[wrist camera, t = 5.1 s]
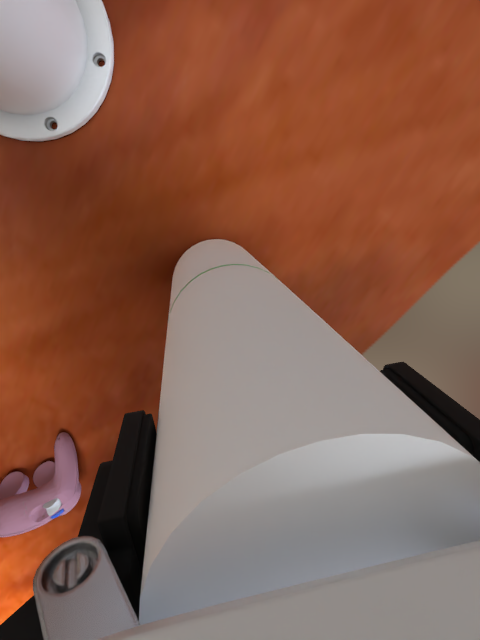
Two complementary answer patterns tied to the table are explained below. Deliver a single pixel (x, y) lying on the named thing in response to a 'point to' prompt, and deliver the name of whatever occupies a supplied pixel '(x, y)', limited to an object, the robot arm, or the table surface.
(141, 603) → the cylindrical container
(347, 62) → the table surface
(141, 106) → the table surface
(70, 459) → the video game controller
